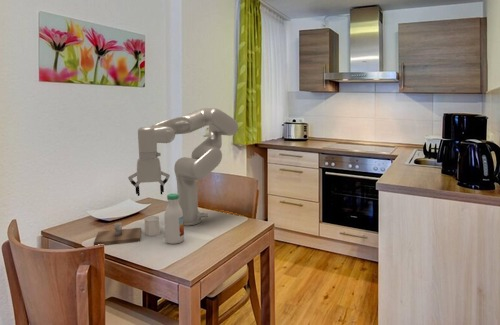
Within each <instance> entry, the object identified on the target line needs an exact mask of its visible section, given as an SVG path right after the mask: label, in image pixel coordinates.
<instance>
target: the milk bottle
mask: <svg viewBox="0 0 500 325" xmlns="http://www.w3.org/2000/svg"><path fill="white" fill-rule="evenodd" d="M166 196H167V197H166V199H167V202H168V203H167V205H166V207H165V210H164V214H163V215H164V238H165V239H164V240H165V243H167V244H171V245H172V244H173V245H174V244H180V243H182V242H184V240H185V230H184V229H185V228H184V223H183V212H182V209H181V207H180V205H179V202H178V200H179V195H178V194H177V193H169V194H167V195H166Z"/></svg>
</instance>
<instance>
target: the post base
mask: <svg viewBox="0 0 500 325" xmlns="http://www.w3.org/2000/svg"><path fill="white" fill-rule="evenodd" d="M122 225H123V224H122V222H121V221H120V222H118V221H117V222H115V223H113V227H114V228H113V229H114V230H111V229H110V230H102V231H101V230H99V231H97V234H96V236H95V239H94V241H93V246H94V245H98V244H105V245H104V246H108V245H109V244H110V245H117V244H119V245H120V244H128V243H135V242H136V243H137V242H138V241H139V242H141V240H142V239H141V237H142V227H134V228H123V226H122Z"/></svg>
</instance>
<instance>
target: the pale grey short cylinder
mask: <svg viewBox="0 0 500 325" xmlns="http://www.w3.org/2000/svg"><path fill="white" fill-rule="evenodd" d="M160 227H161V226H160V216H158V215H149V216H146V217H144V235H145V236H148V235H149V236H150V237H151V235H153V236H157V235H160V233H161V230H160ZM149 236H148V237H149Z"/></svg>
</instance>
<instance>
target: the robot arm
mask: <svg viewBox="0 0 500 325" xmlns="http://www.w3.org/2000/svg"><path fill="white" fill-rule="evenodd" d="M207 126H208V136H207V138H205V139H204V141H202V142H201V143H200V144H198V145H197V146H196V147H194V149H193V151H192V152H191V157H186V156H185V157H180V158H178V159H177V160H176V161H175V163H174V168H173V169H174V176H175V180H176V188H177V189H176V190H177V191H176V192H177V193H176V194H178V195H179V200H178V202H179V205H180V207H181V209H182V212H183V223H184V226H195V225H198V224H200V223H202V218H208V214H209V213H208V212H200V211H199V204H198V199H199V198H198V182H197V181H200V180H203V179H205V178H206V177H207V176H209V175H210V173H212V172H213V171H214V170H215V169H216V168H217V167H218V166H219V165H220V164H221V162H222V159H223V153H222V150H221V148H222V144H223V143H222V142H223V141H222V140H223V139H222V136H234V135H236V133H238V131H239V123H238V121H236V119H235V118H234V117H232V116H231V115H229V114H227V113H226V112H224V111H222V110H221V109H219V108H215V107H209V108H208V107H205V108H200V109H198V110H194V111H192V112H190V113H186V114H184V115H181V116H178V117H174V118H169V119H166V120H163V121H160V122H158V123H155V124H152V125H151V126H142V127H139V128H138V129H137V141H138V142H137V143H138V159H137V161H136V172H134V173H133V174H131V175H129V176H128V177H127V178H128V180H129V182H130V184H131V185H133V187H135V194H136V195H137V196H138V197H139V196H140V194H141V193H140V184H143V183H157V182H158V183H159V184H160V185H159V188H160V189H159V190H160V195H161V196H162V195H163V193H164V190H165V188H164V187H165V184H167V182H168V180H169V178H170V174H168V172H164V171H162V168H161V161H160V158H158V157H160V156H161V154H162V153H161V152H158V146H157V145H158V144H170V143H171V142H173V141H174V140H175V138H176V135H185V134H190V133H193V132H196V131H198V130H199V129H202V128H204V127H207ZM162 176H164V177H165V178H164V179H163V180H162ZM135 177H136V181H135V180H134V178H135Z"/></svg>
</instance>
